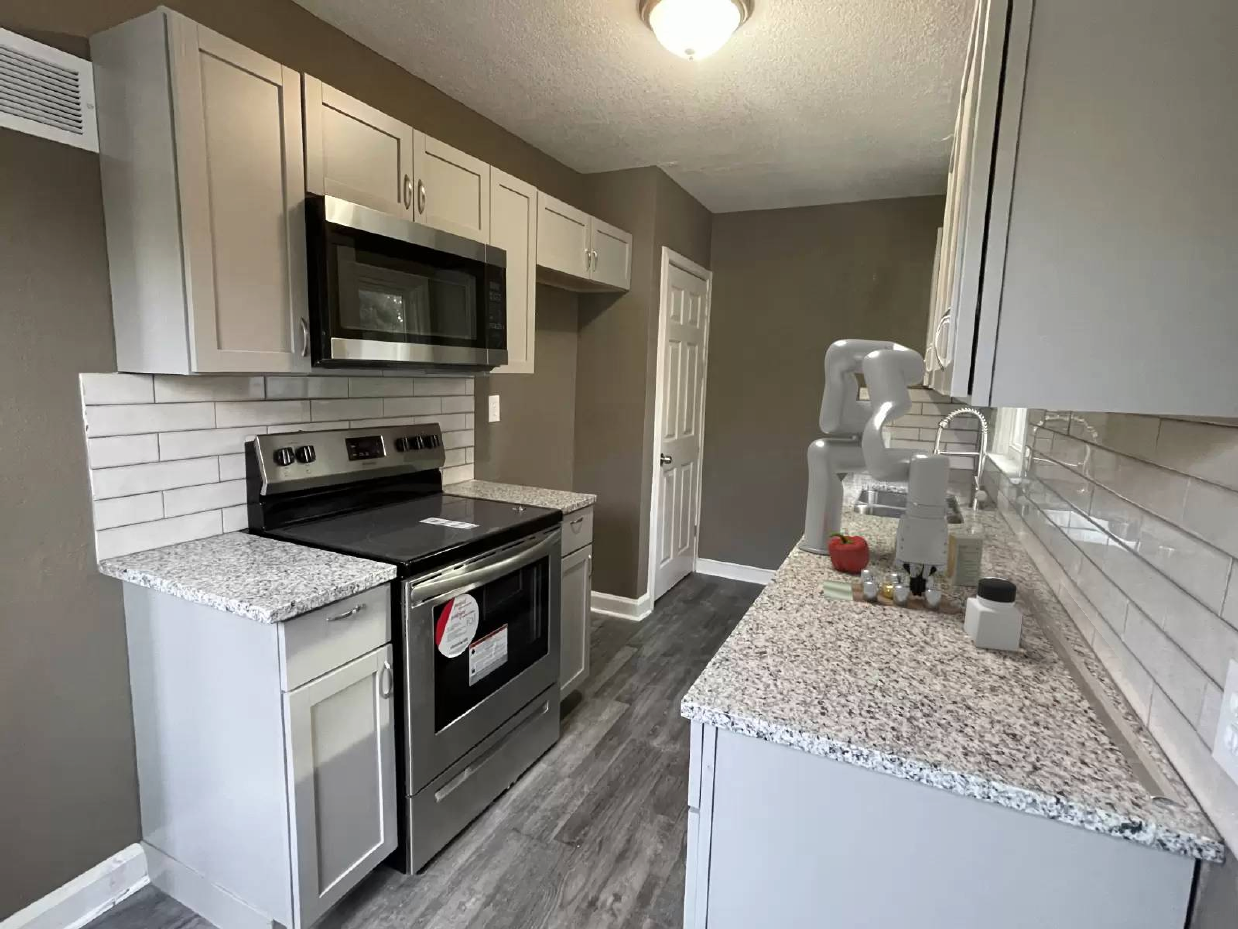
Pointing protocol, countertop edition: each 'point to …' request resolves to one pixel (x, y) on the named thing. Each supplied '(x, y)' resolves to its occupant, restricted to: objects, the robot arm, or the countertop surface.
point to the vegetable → (848, 553)
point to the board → (856, 594)
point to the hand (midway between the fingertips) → (916, 594)
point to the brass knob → (888, 590)
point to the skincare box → (964, 559)
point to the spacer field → (899, 590)
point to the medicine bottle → (994, 616)
